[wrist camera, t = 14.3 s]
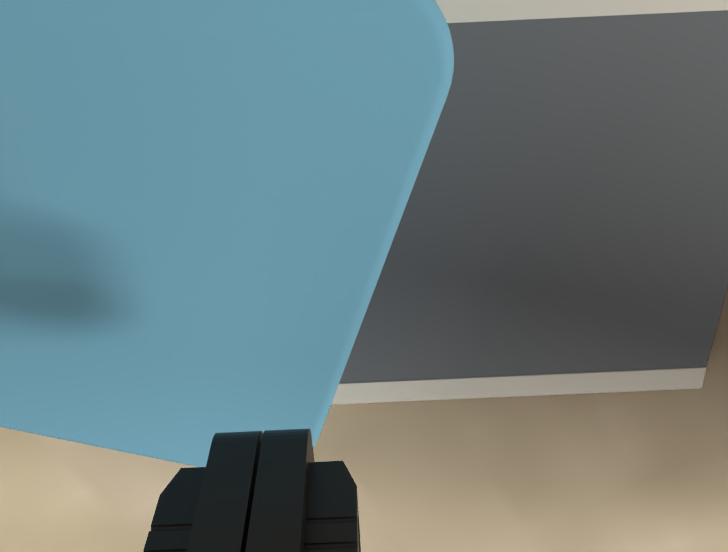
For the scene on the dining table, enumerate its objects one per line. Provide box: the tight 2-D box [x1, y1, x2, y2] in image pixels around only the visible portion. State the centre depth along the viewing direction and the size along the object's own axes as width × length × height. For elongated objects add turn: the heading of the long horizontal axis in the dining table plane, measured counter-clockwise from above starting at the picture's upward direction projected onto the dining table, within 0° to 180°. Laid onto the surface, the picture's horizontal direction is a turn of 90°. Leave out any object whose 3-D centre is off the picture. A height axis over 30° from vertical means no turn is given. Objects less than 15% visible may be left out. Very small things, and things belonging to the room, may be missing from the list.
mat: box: [331, 0, 728, 405], centre depth 19 cm, size 24×12×1 cm, turn 92°
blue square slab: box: [0, 0, 454, 467], centre depth 15 cm, size 12×4×12 cm
